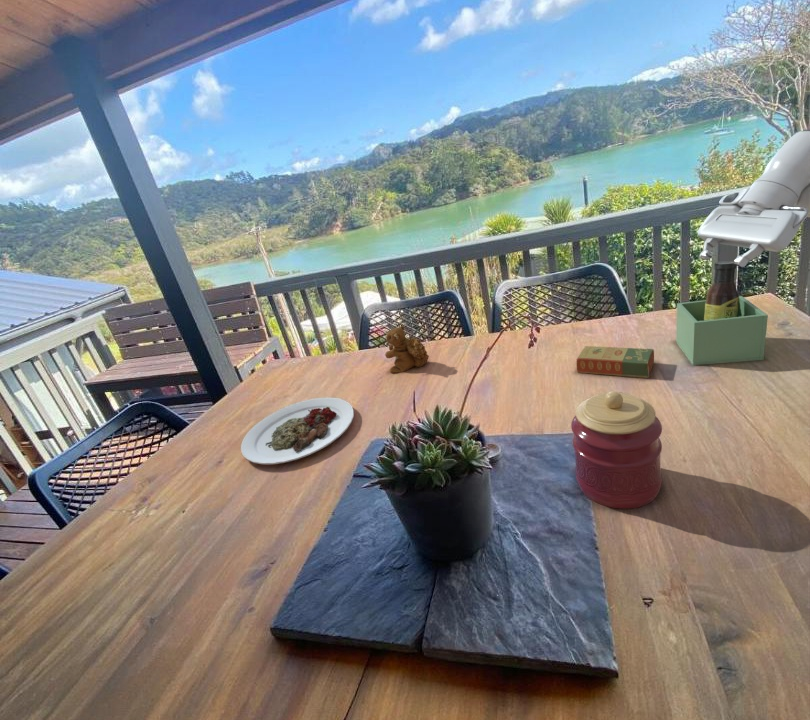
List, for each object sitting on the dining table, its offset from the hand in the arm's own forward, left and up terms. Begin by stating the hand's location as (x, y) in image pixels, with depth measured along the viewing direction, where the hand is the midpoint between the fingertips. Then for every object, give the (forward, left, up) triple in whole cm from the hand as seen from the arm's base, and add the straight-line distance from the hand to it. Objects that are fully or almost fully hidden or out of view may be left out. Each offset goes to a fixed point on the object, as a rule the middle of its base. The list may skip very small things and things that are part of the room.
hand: (719, 261), depth 96 cm
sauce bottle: (-1, -1, -21) cm, 21 cm away
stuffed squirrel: (+80, -9, -22) cm, 83 cm away
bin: (0, -1, -22) cm, 22 cm away
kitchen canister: (+29, +46, -22) cm, 59 cm away
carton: (+23, +4, -22) cm, 32 cm away
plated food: (+102, +26, -22) cm, 107 cm away
